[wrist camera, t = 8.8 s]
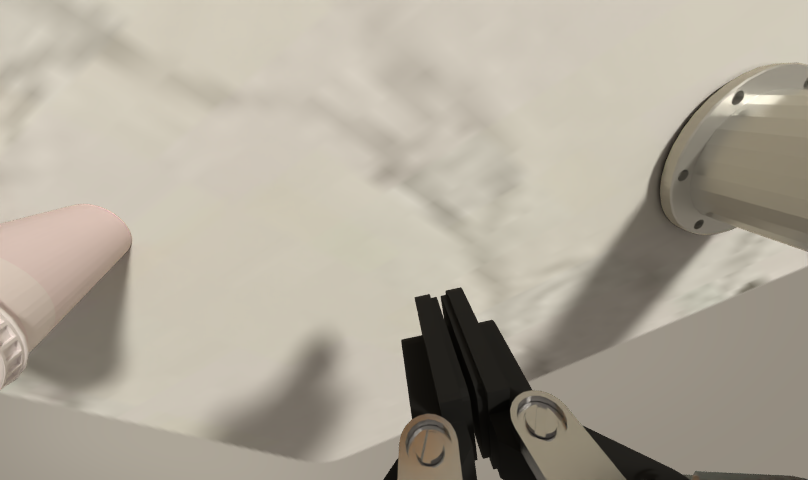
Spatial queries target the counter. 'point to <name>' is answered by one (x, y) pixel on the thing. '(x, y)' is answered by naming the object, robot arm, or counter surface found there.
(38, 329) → the smoothie
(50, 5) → the counter surface
